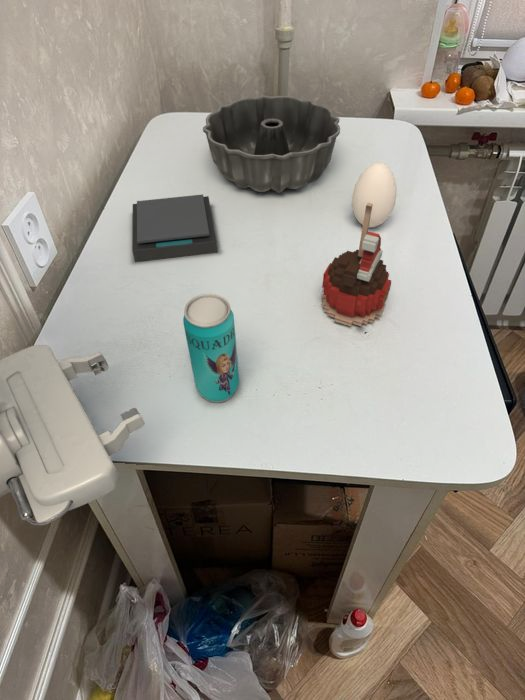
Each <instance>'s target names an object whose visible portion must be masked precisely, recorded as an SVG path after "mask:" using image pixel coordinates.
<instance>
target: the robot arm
mask: <svg viewBox="0 0 525 700" xmlns="http://www.w3.org/2000/svg"><path fill="white" fill-rule="evenodd" d="M109 368H110V366H109V364H108V361H107V359H106V358H105V356H104V355H103V353H102V352H100V351H99V352H96V353H94V354H92V355H89V356H87V357H83V356H82V357H66V358H65V359H62V360H60V361H58V360H57V357H56V356H55V354H54V352H53V350H52V348H51V347H50V345H48V344H34V345H30V346H28V347H25V348H23V349H21V350H19V351H16V352H14V353H12V354H10V355H8V356H5V357H4V358H1V359H0V498H2V497H4V496H5V495H7V494H10V493H11V497H12V498H13V500H14V501H15V503H16V506H17V512H18V515H19V516H20V518H21V520H22V521H25V522H28V523H29V524H31V525H34V526H45V525H48V524H51V523H52V522H54V521H55V520H57V519H59V518H61V517H62V516H64V515H65V514H66V513H67V512H68V511H73V510H75V509H78V508H80V507H82V506H84V505H86V504H89V503H91V502H94V501H95V500H97V499H100V498H102V497H104V496H106V495H107V494H110V493H111V492H113V491H114V490H115V489H116V487H117V485H118V484H119V482H120V480H121V476H120V474H119V472H118V469H117V468H116V466H115V464H114V463H113V461H112V458H111V457H110V456H111V455H113V454H115V453H117V452H118V451H120V450H121V448H122V447H123V446H124V445H125V442H126V441H127V440H128V438H129V437H130V436H131V433H134V432H135V431H138V430H139V429H141V428H142V427H144V426H145V420H144V418H143V416H142V414H141V412H139V410H138V409H137V408H136V407H132V408H130V409H129V410H128V411H124V412H122V413H121V414H120V418H121V420H122V421H121V422H120V423H119V424H118V426H116V428H115V429H114V430H113V432H112V433H111V432H110V430H106V431H104V432H101V433H100V434H98V433H97V431H96V429H95V427H94V426H93V424H92V422H91V420H90V418H89V416H88V414H87V413H86V411H85V409H84V407H83V405H82V404H81V402H80V400H79V398H78V396H77V394H76V392H75V390H74V389H73V387H72V386H71V384H70V383H71V382H70V381H72V380H75V379H76V378H78V374H83V373H90V372H92V373H93V374H94V376H98V375H99V374H101V373H102V372H106V371H108V369H109ZM33 517H34V518H35V519H34V518H33Z"/></svg>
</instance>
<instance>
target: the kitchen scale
mask: <svg viewBox="0 0 525 700" xmlns="http://www.w3.org/2000/svg"><path fill="white" fill-rule="evenodd" d="M214 226H215V225H214V219H213V214H212V208H211V203H210V197H209V195H208V196H207V195H206V196H204V194H193V195H182V196H174V197H173V196H172V197H164V198H155V199H145V200H136V203H132V227H131V228H132V229H131V230H132V231H131V232H132V233H131V234H132V237H131V238H132V239H131V240H132V241H131V242H132V245H131V246H132V247H131V248H132V249H131V251H132V255H133V260H134V262H135V263H138V262H146V261H156V260H163V259H173V258H181V257H189V256H199V255H207V254H215V253H216V254H217V253H218V244H217V237H216V232H215V227H214Z"/></svg>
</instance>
